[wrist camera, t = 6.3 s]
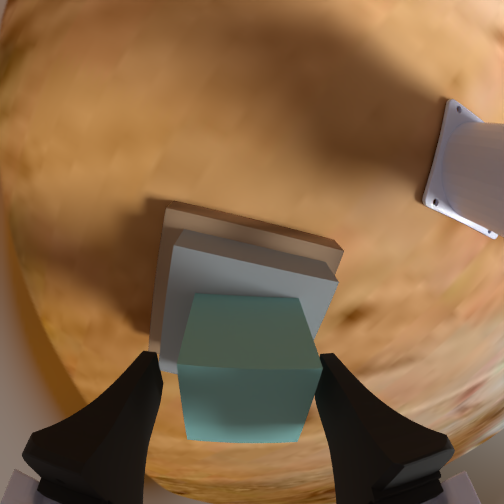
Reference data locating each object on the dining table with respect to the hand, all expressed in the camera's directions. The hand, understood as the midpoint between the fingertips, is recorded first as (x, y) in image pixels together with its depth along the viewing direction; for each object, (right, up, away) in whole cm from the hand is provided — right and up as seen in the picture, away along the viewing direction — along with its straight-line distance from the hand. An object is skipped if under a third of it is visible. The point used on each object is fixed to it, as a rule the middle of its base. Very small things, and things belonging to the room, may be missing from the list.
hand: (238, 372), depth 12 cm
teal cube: (0, +1, +3) cm, 3 cm away
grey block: (0, +2, +5) cm, 5 cm away
